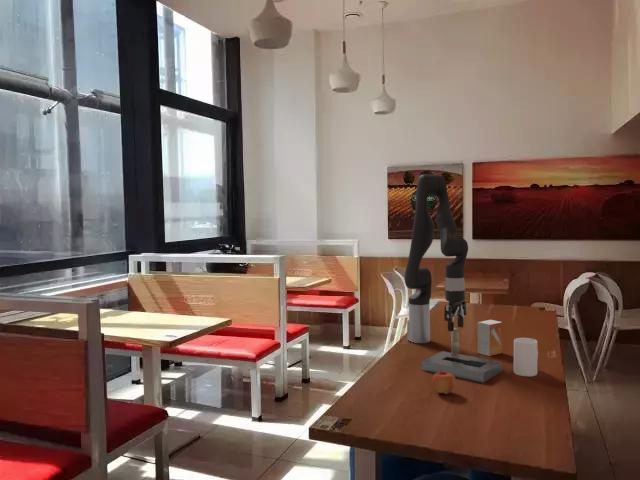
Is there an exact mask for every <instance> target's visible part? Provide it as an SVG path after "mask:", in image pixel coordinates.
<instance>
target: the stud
mask: <svg viewBox="0 0 640 480" xmlns="http://www.w3.org/2000/svg"><path fill="white" fill-rule="evenodd" d="M450 337H451V339H450V340H451V341H450V344H451V346H450V347H451V350H450V351H451V352H450V353H455V354H461V353H460V327H454V331H450ZM461 355H463V354H461Z"/></svg>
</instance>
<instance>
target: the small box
mask: <svg viewBox="0 0 640 480" xmlns="http://www.w3.org/2000/svg"><path fill="white" fill-rule="evenodd" d="M477 353H478V354H481V355H484V356H488V357H491V356H495V355H499V354H503V322H502V321H498V320H494V319H487V320H483V321H478V322H477Z"/></svg>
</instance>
